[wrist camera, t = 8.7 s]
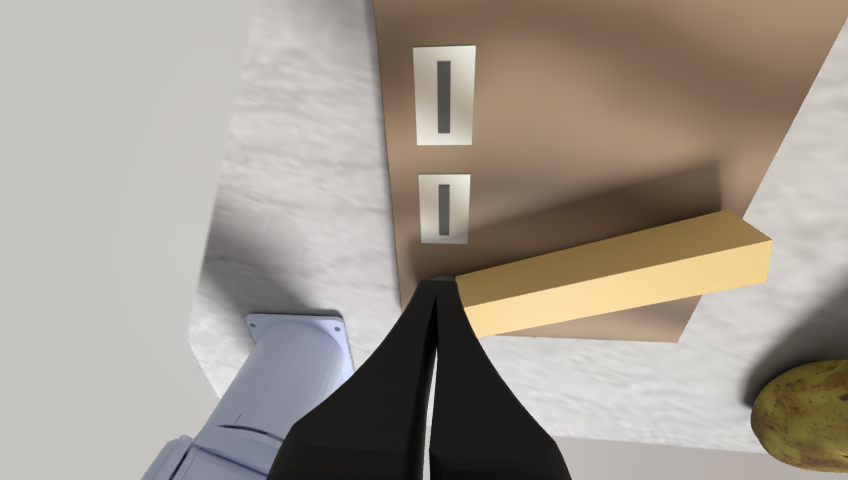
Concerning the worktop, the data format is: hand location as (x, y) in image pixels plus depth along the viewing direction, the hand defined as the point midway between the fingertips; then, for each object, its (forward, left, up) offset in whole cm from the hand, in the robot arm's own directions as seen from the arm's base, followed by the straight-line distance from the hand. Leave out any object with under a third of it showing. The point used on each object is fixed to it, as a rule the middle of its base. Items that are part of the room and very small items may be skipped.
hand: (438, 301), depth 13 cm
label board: (0, -6, -9) cm, 11 cm away
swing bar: (-4, -7, -7) cm, 11 cm away
